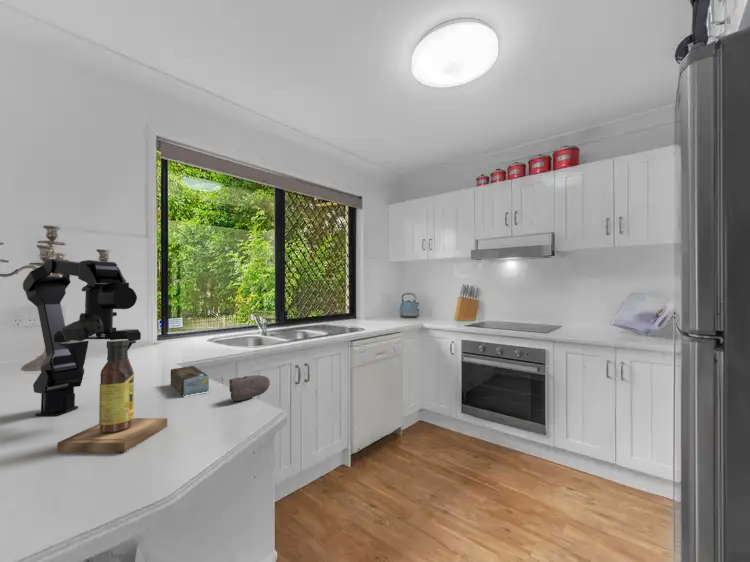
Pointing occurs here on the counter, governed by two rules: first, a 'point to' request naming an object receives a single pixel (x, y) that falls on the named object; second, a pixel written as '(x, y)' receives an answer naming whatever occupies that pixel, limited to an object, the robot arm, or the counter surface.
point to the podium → (112, 437)
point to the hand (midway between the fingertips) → (97, 369)
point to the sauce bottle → (116, 389)
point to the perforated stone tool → (248, 387)
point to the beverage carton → (189, 380)
